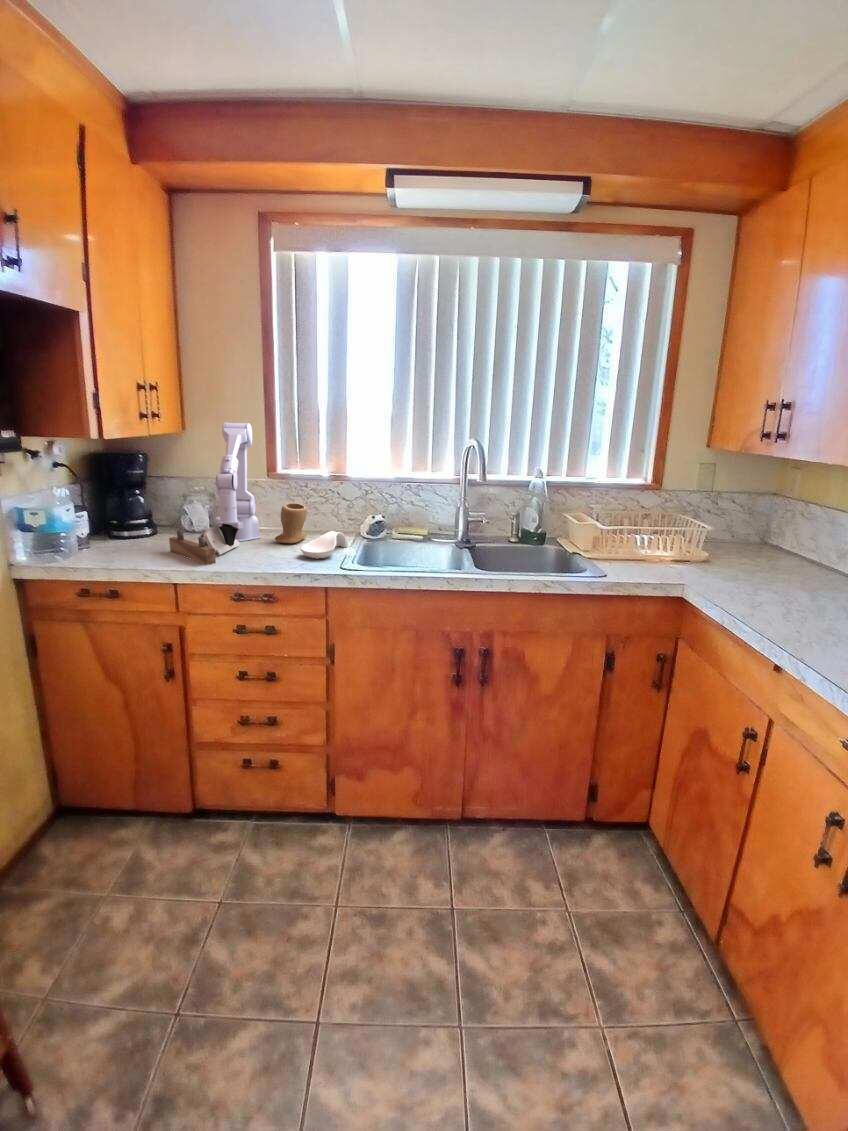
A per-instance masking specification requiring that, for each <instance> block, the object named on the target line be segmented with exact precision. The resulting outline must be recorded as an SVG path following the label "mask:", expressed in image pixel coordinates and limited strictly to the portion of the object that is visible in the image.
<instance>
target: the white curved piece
mask: <svg viewBox="0 0 848 1131" xmlns="http://www.w3.org/2000/svg"><path fill="white" fill-rule="evenodd" d="M219 526H220V525H215V526H211V527H209V528H207V529H206V530H204V531H203V532H202V533H200V534H199V536H198V538H199V537H205V546H209V547H212V548H215V553H217V554H218V556H220V555H222V554H224V553H227V552H229V551H231V550H232V549H234V548H236V547H239V546H240V545H241V543H240V541H238V540H235V541H234V545H232V546H229V545H227V544H226V542H225V539H224V536H223V534H222V532H221V530H220V529H219ZM198 538H197V540H198V541H199V539H198Z"/></svg>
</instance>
